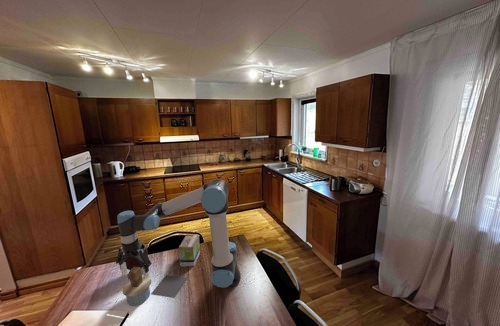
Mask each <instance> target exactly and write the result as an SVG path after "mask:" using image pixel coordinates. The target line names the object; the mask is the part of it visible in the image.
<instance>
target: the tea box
mask: <svg viewBox="0 0 500 326" xmlns="http://www.w3.org/2000/svg"><path fill="white" fill-rule="evenodd" d="M200 245H201V244H200V235H199V234H198V235H197V234H196V235H195V234H194V235H185V237H184V238H183V240H182V241H181V243H180V244H179V246H178V252H179V265H180V267H195V266H196V264H197V261H198V258H199V256H200V254H201V248H200V247H201V246H200Z"/></svg>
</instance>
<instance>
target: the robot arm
mask: <svg viewBox="0 0 500 326" xmlns="http://www.w3.org/2000/svg"><path fill="white" fill-rule="evenodd" d="M229 194H230V187H229V183H227V181H225V180H224V179H221V178H216V179H214V180H213V179H212V180H211V181H209V182H206V183H204V184H203V185H202V186H201V187H199V188H197V189H194V190H192V191H190V192H189V191H188V192H186V193H184V194H182V195H179V196H177V197H174V198H172V199H169V200H168V201H165V202H158V203H157V204H154V206H152V207H151V208H150V209H149V210H148V211H147V212H146V213H144V214H140V215H139V214H138V215H135V212H134V211H133V210H125V211H122V212H120V213H118V214H117V226H118V229H119V237H120V242H121V247H119V248H118V253H117V257H116V259H115V264H118V265H119V269H120V271H121V275H122V277H124V276H126V274H128V269H127V267H126V262H124V261H125V260H126V258H127V257H133V258H134V259H137V260H138V262H139V263H140V264H141V265H142V266H143V268H142V269H143V275H144V279H146V278H147V277H148V276H150V275H149V271H150V268H149V267H150V266H151V265H152V262H151V260H150V258H149V255H148V256H147V255H146V253H145V251H144V248H142V249H139V248H138V245H139V242H140V241H139V238H138V236H139V235H138V231H155V230H157V229H158V228H159V227H160V223H161V219H162V218H164V217H167V216H169V215H171V214H174V213H176V212H179V211H182V210H185V209H187V208H190V207H192V206H194V205H197V204H199V203H201V206H202V208H204V213H205V214H206V215H207V216H208V221H209V228H210V236H211V237H210V238H211V245H212V253H213V256H212V257H211V261H210V262H211V263H210V264H211V273H210V282H211V283H212V284H213V286H216V287H217V288H223V289H231V288H234V287H235V286H236V287H237V285H238V284H240V281H241V280H242V276H241V275H242V273H241V271H240V269H239V266H238V257H237V256H238V254H237V253H238V252H237V244H236V243H235V242H232V241H229V232H228V231H229V230H228V220H227V212H228V211H229V200H228V199H229V198H228V196H229ZM124 252H125V255H124V256H123V253H124ZM137 254H138V256H136V255H137Z"/></svg>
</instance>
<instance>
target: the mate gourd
mask: <svg viewBox="0 0 500 326" xmlns="http://www.w3.org/2000/svg"><path fill="white" fill-rule="evenodd" d="M144 239H145V238H144V237H142V239H141V240H140V241H138V242H139V245H138V248H139V249H142V248H144V251H145V253H146V255H147V256H148V257H149V251H148V248H147V245H146V244H145V243H144ZM124 255H125V252H124V253H123V256H124ZM123 256H122V257H123ZM136 256H138V254H137V255H136ZM124 262H126V267H127V271H130V270H131V269H132V268H133V267H141V273H142V275H143V269H142V268H143V266H142V265H141V264H140V263H139V262H138V260H137V259H134V258H133V257H127V258H126V260H125V261H124ZM124 262H123V263H124ZM127 279H128V280H130V277H129V272H127Z"/></svg>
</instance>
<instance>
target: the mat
mask: <svg viewBox="0 0 500 326" xmlns="http://www.w3.org/2000/svg"><path fill="white" fill-rule="evenodd" d="M188 279H189V278H188V277H185V276H178V275H177V276H176V275H170V274H169V275H168V274H166V275H165V276H164V277H163V279H162V280H161V281H160V282H159V283H158V285H157V286H156V287H155V288H154V289H153V291H151V292H150V295H154V296H160V297H166V298H172V299H175V298H176V297H177V295H178V294H179V292H180V291H181V289H182V287H183V286H184V284H185V283H186V282H187V280H188Z"/></svg>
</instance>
